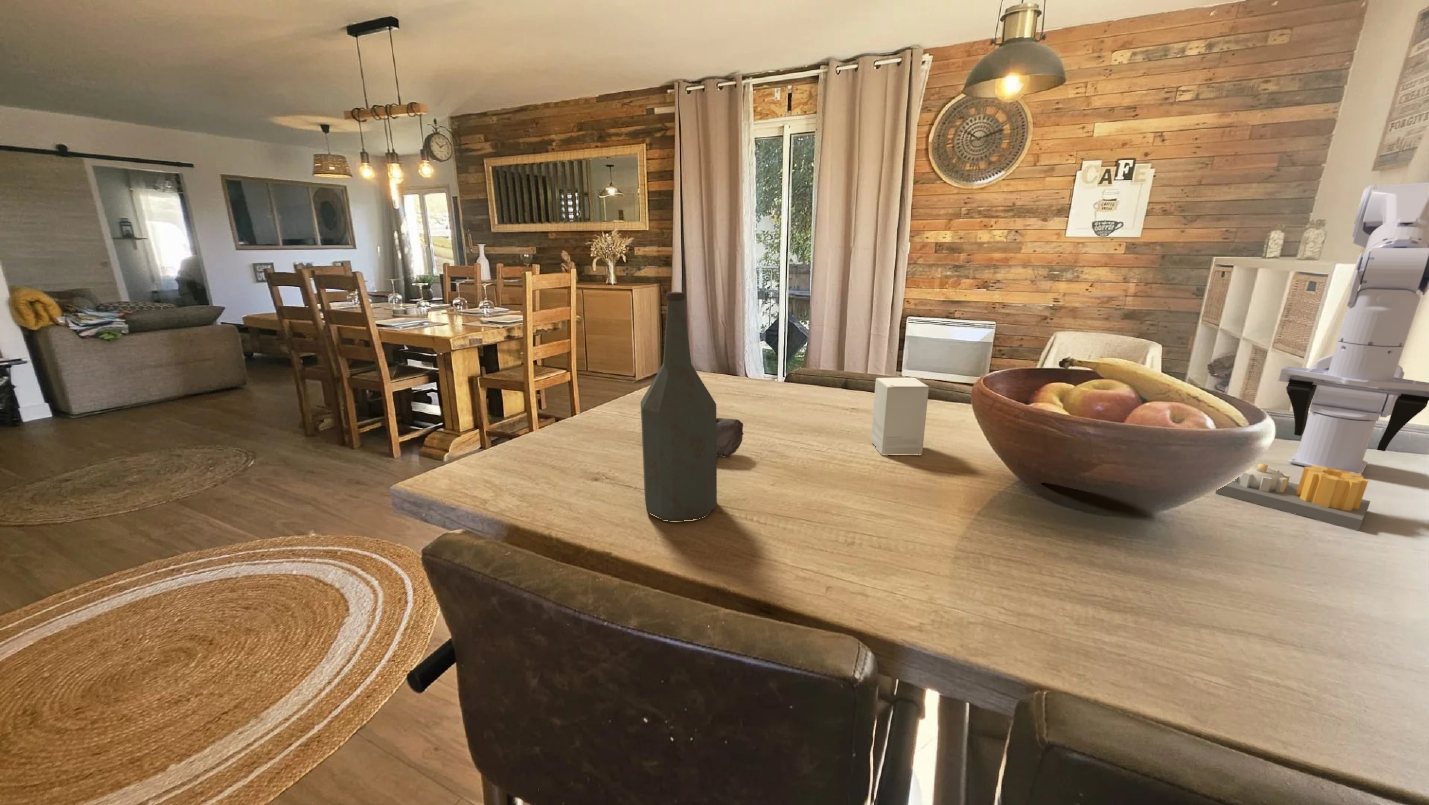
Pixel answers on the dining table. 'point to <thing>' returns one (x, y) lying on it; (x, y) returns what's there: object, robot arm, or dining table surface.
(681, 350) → the bottle
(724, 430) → the dark brown rounded piece
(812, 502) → the dining table surface
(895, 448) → the supplement box
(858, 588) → the dining table surface
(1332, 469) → the amber gear
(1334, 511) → the gear board
